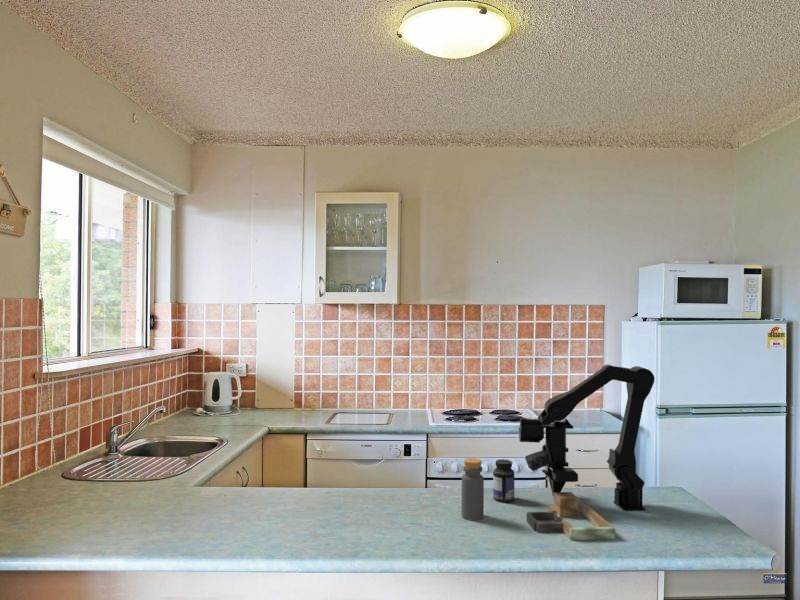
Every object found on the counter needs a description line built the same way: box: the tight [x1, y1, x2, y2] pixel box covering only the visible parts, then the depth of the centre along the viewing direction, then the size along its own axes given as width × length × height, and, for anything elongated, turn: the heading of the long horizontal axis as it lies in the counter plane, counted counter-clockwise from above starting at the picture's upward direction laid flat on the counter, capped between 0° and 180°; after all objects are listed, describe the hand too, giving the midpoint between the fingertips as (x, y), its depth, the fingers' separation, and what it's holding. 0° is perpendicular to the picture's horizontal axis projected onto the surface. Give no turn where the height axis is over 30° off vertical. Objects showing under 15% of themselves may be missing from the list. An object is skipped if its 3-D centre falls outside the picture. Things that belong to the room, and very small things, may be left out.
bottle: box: [461, 457, 485, 521], centre depth 152 cm, size 6×6×15 cm
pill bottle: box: [492, 458, 515, 503], centre depth 166 cm, size 6×6×11 cm
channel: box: [525, 504, 616, 541], centre depth 145 cm, size 18×16×2 cm
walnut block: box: [553, 491, 579, 518], centre depth 155 cm, size 5×5×5 cm
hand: (555, 497), depth 163 cm, fingers closed
